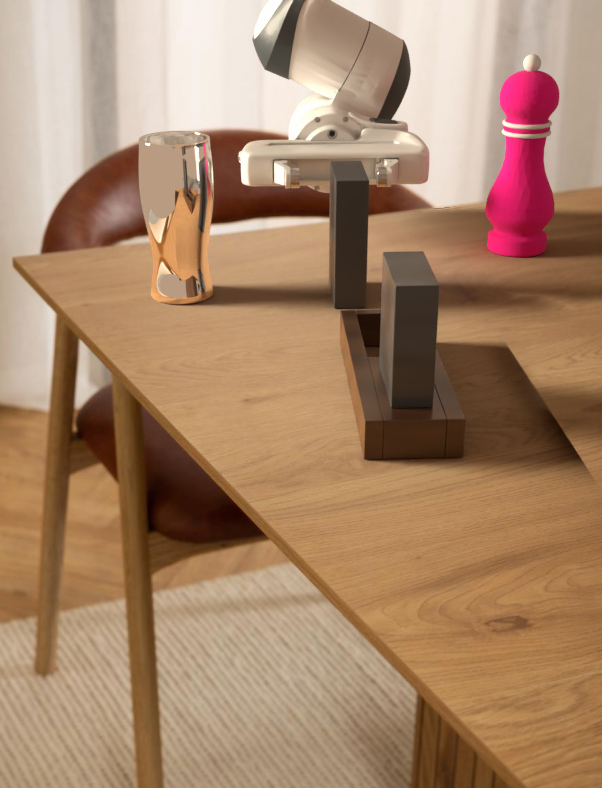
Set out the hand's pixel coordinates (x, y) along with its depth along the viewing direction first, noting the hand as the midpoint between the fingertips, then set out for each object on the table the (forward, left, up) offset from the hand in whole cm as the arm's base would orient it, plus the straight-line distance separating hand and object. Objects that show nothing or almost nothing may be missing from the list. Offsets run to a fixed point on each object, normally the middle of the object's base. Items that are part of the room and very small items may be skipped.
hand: (338, 179), depth 121 cm
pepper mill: (-20, -2, -9) cm, 22 cm away
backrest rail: (-1, +36, -8) cm, 37 cm away
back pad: (0, +12, -8) cm, 14 cm away
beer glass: (+16, +10, -9) cm, 21 cm away
